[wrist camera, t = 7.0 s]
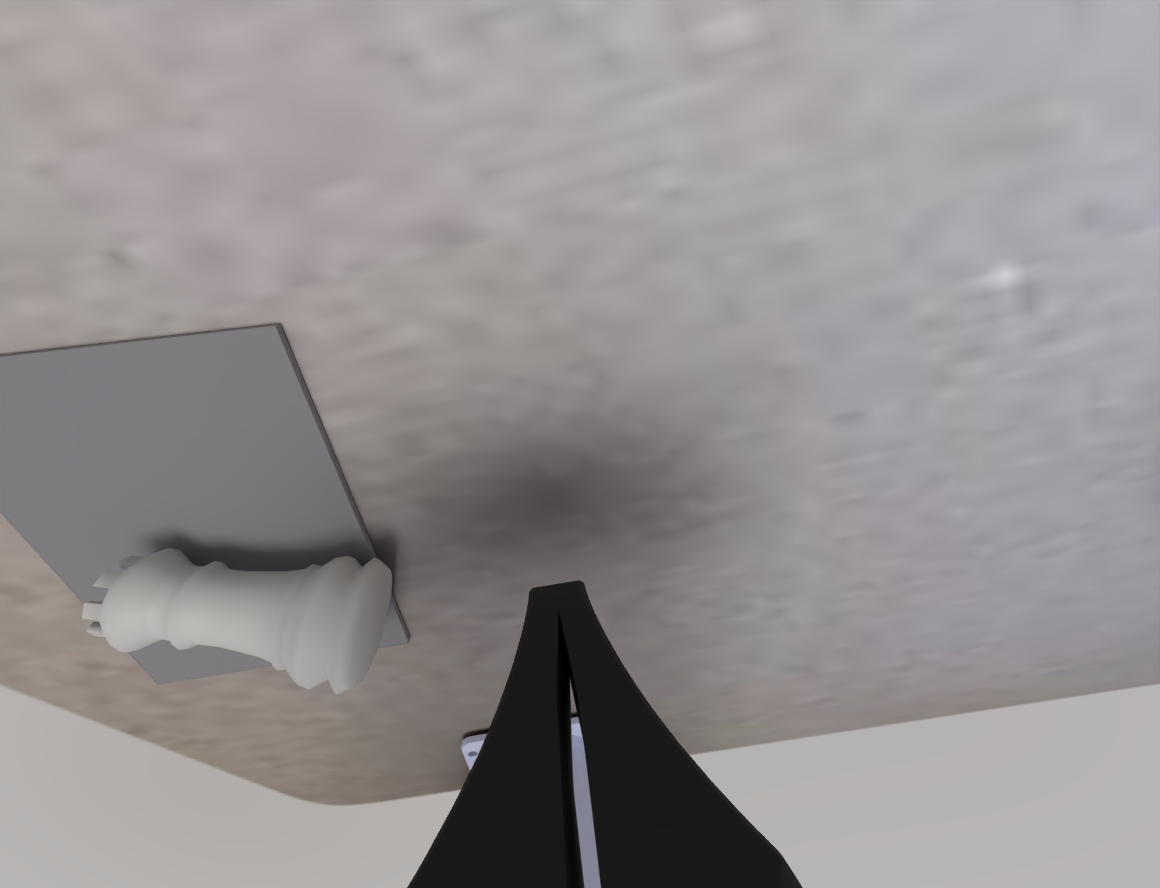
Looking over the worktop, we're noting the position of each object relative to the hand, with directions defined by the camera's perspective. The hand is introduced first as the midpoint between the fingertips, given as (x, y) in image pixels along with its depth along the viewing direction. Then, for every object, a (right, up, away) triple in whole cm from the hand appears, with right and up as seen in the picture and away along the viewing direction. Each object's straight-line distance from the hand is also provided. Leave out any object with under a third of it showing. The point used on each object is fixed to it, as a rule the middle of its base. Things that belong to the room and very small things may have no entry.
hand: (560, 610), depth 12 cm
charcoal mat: (-13, +1, +4) cm, 14 cm away
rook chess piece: (-7, -2, +4) cm, 8 cm away
